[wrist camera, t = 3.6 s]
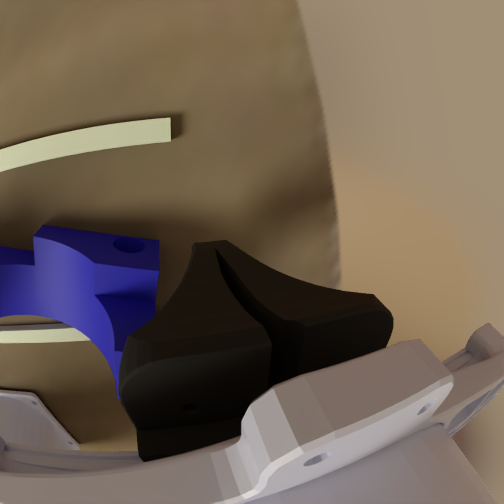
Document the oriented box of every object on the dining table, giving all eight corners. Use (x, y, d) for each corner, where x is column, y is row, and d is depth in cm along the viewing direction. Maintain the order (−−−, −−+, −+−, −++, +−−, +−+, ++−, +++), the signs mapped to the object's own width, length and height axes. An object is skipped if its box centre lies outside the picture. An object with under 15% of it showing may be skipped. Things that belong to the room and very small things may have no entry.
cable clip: (158, 238, 14) (161, 322, 8) (149, 312, 15) (153, 402, 10) (-41, 212, 9) (-103, 268, 4) (-30, 283, 11) (-72, 351, 6)
